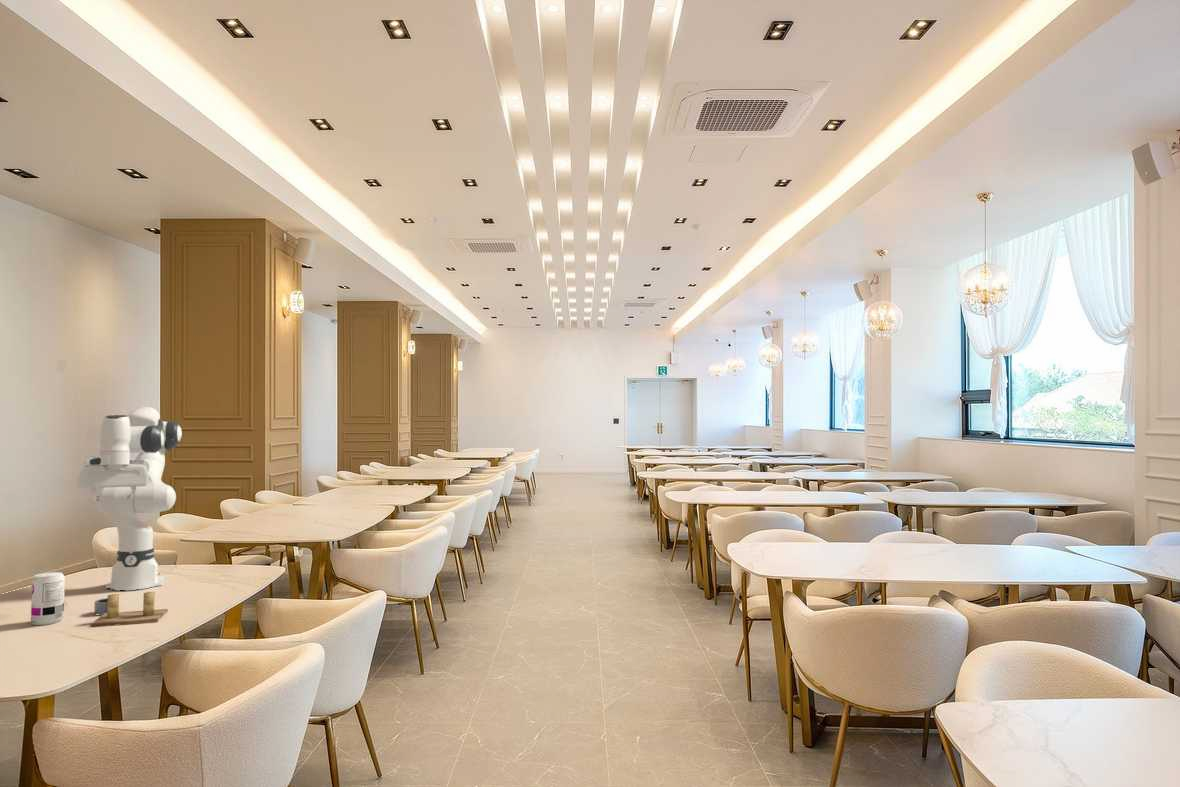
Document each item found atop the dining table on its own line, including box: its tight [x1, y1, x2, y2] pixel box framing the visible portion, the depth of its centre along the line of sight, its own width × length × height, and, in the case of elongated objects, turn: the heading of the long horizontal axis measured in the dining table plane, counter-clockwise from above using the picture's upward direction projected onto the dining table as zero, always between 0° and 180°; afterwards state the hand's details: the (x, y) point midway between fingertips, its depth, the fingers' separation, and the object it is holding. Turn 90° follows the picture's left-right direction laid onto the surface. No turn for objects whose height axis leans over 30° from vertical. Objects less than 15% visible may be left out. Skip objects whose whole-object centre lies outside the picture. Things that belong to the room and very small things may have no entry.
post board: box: [90, 591, 168, 628], centre depth 226 cm, size 12×18×8 cm, turn 108°
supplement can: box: [30, 571, 66, 626], centre depth 222 cm, size 8×8×15 cm
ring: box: [93, 597, 108, 616], centre depth 233 cm, size 6×6×4 cm
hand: (113, 500), depth 242 cm, fingers open, 8 cm apart
